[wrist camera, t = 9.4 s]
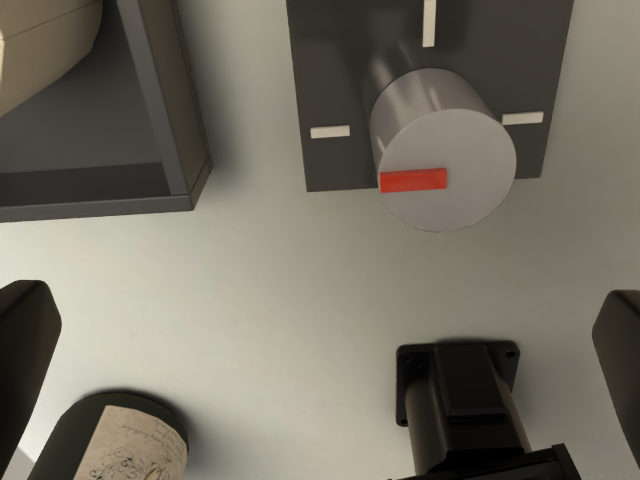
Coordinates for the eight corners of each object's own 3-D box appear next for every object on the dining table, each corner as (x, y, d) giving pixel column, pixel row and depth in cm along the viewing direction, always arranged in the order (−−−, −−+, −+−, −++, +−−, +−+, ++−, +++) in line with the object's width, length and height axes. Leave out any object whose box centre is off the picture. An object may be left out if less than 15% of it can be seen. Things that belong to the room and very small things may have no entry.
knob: (487, 62, 16) (530, 106, 13) (476, 171, 19) (510, 234, 15) (367, 72, 17) (377, 119, 13) (370, 178, 19) (379, 242, 15)
